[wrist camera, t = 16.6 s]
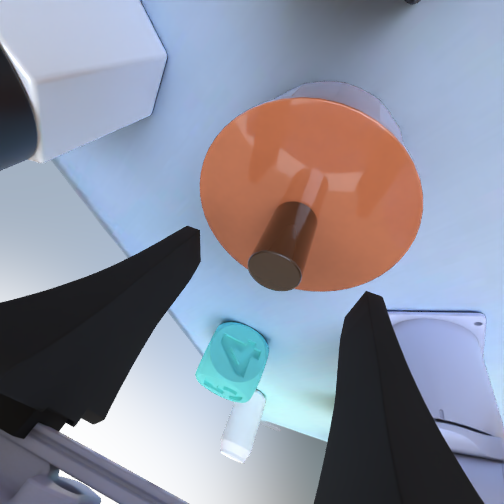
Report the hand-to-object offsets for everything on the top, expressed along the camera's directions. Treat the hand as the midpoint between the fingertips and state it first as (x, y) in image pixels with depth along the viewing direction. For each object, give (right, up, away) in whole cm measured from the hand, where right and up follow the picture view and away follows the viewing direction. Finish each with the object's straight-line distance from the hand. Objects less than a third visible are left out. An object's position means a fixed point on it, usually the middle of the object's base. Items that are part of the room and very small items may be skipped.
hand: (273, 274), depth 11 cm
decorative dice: (-2, -12, +28) cm, 31 cm away
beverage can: (0, -30, +44) cm, 53 cm away
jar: (-10, +15, +7) cm, 19 cm away
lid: (+2, +3, +3) cm, 4 cm away
